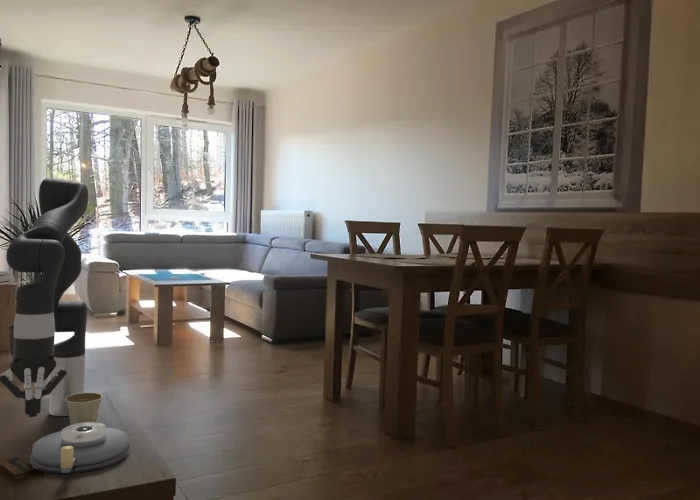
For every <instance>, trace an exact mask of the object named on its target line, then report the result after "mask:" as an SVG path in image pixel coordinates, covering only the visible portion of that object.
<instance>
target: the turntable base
mask: <svg viewBox="0 0 700 500" xmlns="http://www.w3.org/2000/svg"><path fill="white" fill-rule="evenodd" d="M130 448H131V447H130V443H129V442H128V446H127V449H126V450H125V451H124V452H123V453H122V454H120V455H118V456H117V457H114V458H112V459H110V460H107V461H104V462H100V463H96V464H91V465H85V466H77V467H72V469H71V471H70V472H68V473H61V469H62V468H61V467H53V466H46V465H42V464H40V463H37V462H36V461H34V460H33V458H32V452H31V453H30V455H29V465H30V464H31V465H32V466H34V467H36V468H38V469H39V470H40V471H39V472H40V473H41V472H42V473H45V474H50V475H51V474H52V475H72V474H73V475H74V474H75V475H76V474H83V473H90V472H93V471H94V472H95V471H98V470H103V469H107V468H109V467H112V466H114V465H116V464H118V463H121V462H123V461H124V460H125V459H126V458H127V457H128V455H129V454H130V451H131V449H130ZM31 465H30V466H31Z"/></svg>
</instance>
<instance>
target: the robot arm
mask: <svg viewBox="0 0 700 500" xmlns="http://www.w3.org/2000/svg"><path fill="white" fill-rule="evenodd" d="M88 204H89V188H88V186H87V184H85V183H84V182H82V181H78V180H69V179H61V178H52V177H50V178H49V177H47V178H45V179H42V181H41V182H40V185H39V189H38V206H39V212H40V215H39V217H37V218H36V220H35V221H34V223H33V224H32V226H31V227H30V229H28V230H26V231H24V232H23V233H21V234H20V235H18V236H16V237H15V238H14V239H13V240H12V241H11V242H10V244H9V246H8V248H7V249H6V250H7V251H6V254H5V255H6V257H5V259H6V263H7V265H8V266H9V268H11V270H13V271H14V272H18V273H31V274H32V273H33V274H34V273H35V274H37V273H40V274H43V276H42V278H41V280H39V281H37V282H32V283H26V284H22V285H20V286H18V287H17V289H16V294H15V317H14V321H13V322H14V323H13V345H12V346H13V347H12V349H13V350H12V353H13V354H12V361H11V363H10V366H9V368H8V369H7V370H6V371H4V372H2V373H0V383H2V384H3V386H5V387H6V388H7V390H8V391H9V392H10V393H11V394H12V395H13V396H14V397H15V398H17V399H24V413H25V415H28V418H36V417H37V416H38V414H40V413H41V411H42V410H41V408H42V407H41V405H42V404H41V403H42V398H43V397H44V396H49V400H48V401H49V406H48V414H49V415H51V416H54V417H66V416H67V417H68V416H69V409H68V406H67V402H66V401H65V398H66V397H68V396H70V395H73V394H78V393H85V376H86V375H85V372H86V371H85V369H86V367H85V366H86V364H85V362H86V333H87V321H88V307H87V304H86V302H85V301H83V300H61V298H62V297H63V295H64V294H65V292H66V291H67V290H68V289H69V288H70V287H71V286H72V285H73V284H74V283H75V281H76V280H77V279H78V278H79V277H80V274H81V273H82V250H81V248H80V246H79V244H78V243H77V241H76V240H75V239H74V238H73V236H72V235H71V234H69V231H70V230H71V229H72V227H73V226H74V225H75V224H76V223H78V222H79V220H80V219H81V218H83V216H84V214H85V213H86V211H87V208H88ZM55 333H73V335H72V336H70V337H69V338H67V339H66V340H63V341H61V342H57V343H55ZM13 374H14V376H15V377H16V378H17V379H18V380H19V381H20V383H23V389H20V388H19V387H18V385H16V384H15V383H14V381H13V379H14V377H13ZM48 377H50V378H49V381H48V382H47V384H46V385H45V386H43V385H44V381H45V380H47V378H48ZM33 383H34V387H33V386H32V384H33ZM32 387H33V391H32Z"/></svg>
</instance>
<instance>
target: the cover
mask: <svg viewBox="0 0 700 500" xmlns="http://www.w3.org/2000/svg"><path fill="white" fill-rule="evenodd" d="M60 431H61V445H62V446H63V447H65V446H72V447H73V449H84V448H90V447H95V446H98V445H100V444H102V443H104V442H105V441H106V432H107V425H106V424H104V423H102V422H96V423H95V422H87V423H78V424H73V425H71V424H70V425H67V426H66V427H63V429H61V430H60Z"/></svg>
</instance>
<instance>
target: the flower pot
mask: <svg viewBox="0 0 700 500" xmlns="http://www.w3.org/2000/svg"><path fill="white" fill-rule="evenodd" d="M102 399H103V395H102V394H101V393H99V392H98V393H97V392H84V393H78V394H73V395H70V396H68V397H66V398H65V401H66V402H67V406H68V409H69V417H68V418H69V423H70V425H73V424H78V423H87V422H95V423H97V419H98V414H99V409H100V404H101V402H102Z"/></svg>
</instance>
